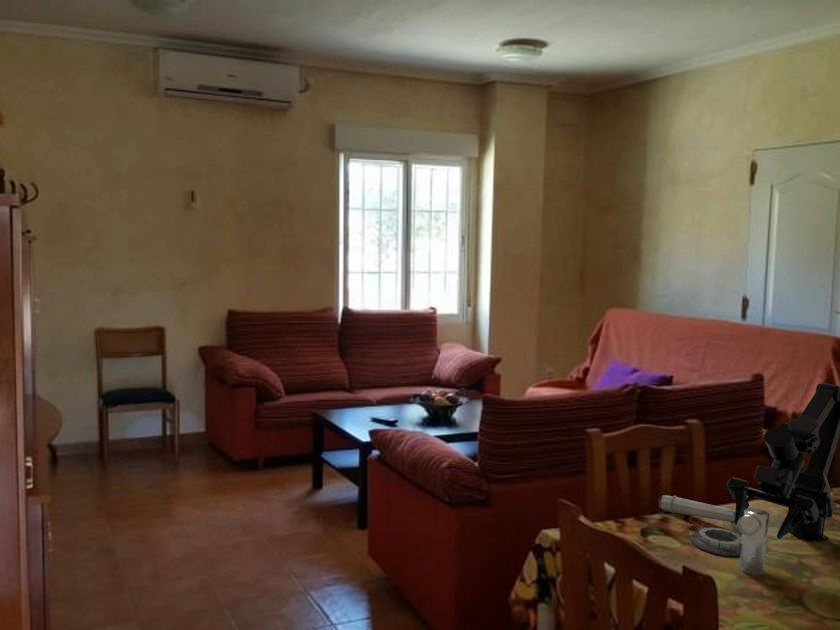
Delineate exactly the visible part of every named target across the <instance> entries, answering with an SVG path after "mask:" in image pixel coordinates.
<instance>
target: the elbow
mask: <svg viewBox="0 0 840 630" xmlns="http://www.w3.org/2000/svg"><path fill="white" fill-rule="evenodd" d="M769 522H770V513H769V512H768V511H766V510H763V509H760V508H754V507H751V508H750V507H748V508H747V509H745V510H744V516H743V517H741V518H739V520H738V522H737V526H738V529H739V531H740V532H741V533H742V540H741V550H740V556H739V562H738V563H739V564H738V570H739V571H740V572H743V573H745V574H747V575H750V576H752V575H753V576H762V575H764V574H765V572H764V571H765V564H766V554H767V541H768V533H769V524H770V523H769Z"/></svg>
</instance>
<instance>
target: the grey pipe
mask: <svg viewBox="0 0 840 630" xmlns="http://www.w3.org/2000/svg"><path fill="white" fill-rule="evenodd" d="M658 508H659V509H660V510H661V511H665V512H668V513H669V512H670V513H672V514H682V515H686V516H694V517H700V518H705V519H711V520H717V521H723V522H728V523H729V522H730V526H731V527H732V531H733V532H735V533H737V534H739V535H740V536H741V537H742V533H741V532H740V531H739V529H738V526H737V525H736V524H735V513H736V509H732V508H728V507H722V506H719V505H715V504H708V503H705V502H700V501H696V500H691V499H686V498H682V497H678V496H677V495H673V496H671V495H666V494H663V495H661V496H660V497H659V499H658Z"/></svg>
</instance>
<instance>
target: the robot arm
mask: <svg viewBox="0 0 840 630" xmlns="http://www.w3.org/2000/svg"><path fill="white" fill-rule="evenodd" d="M839 439H840V385H839V384H838V385H836V384H831V383H826V382H825V383H824V382H822V383H818V384H817V385H816V388H815V392H814V394H813V395H812V397H811V399H810V400H809V402H808V403H807V405H806V406H805V408H804V409H803V411H802V412H801V413H800V415H799V416H798V417H795V418H792V419H789V421H787V422H786V423H785V422H780V423H779V425H778V426H773V427H771V428H769V429H768V430H767V431H765V434H764V440H765V443H766V446H767V448H768V450H769V454H770V456H771V457H772V459H773V460H772V464H771V465H770V466H763V465H760V464H757V466H756V469H755V472H754V475H753V480H756V481H757V483H756V485H757V486H758V488H760V489H757V488H753V487H751V485H750V483H749V480H746V479H742V478H739V477H735V476H732V477H730V478H729V479H728V481H727V482H726V484H725V487H726V488H727V490H728V492H729V494H730V496H731V498H732V499H733V500H734V501H735V510H736V513H735V524H736V525H737V522H738V520H739V518H741V517H743V516H744V510H745V509H747V508H750V503H749V502H750V501H751V500H752V498H753V499H757V500H760V501H764V502H768V503H771V504H774V505H779V506H781V507H785V508H788V510H787V514H786V516H785V518H784V520H783V522H782V523H781V525H780V528H779V529H778V531H777V534H776V538H777V539H778V540H781V539H782V538H784V536H786V535H787V534H789V533H791V534H792V535H794V536H796V537H798V538H801V539H802V540H805V541H807V542H817V541H824V540H825V541H826V540H829V536H827V535H826V534H824V531H825V522H826V519H827V518H829V519H830V518H831V519H832V518H833V517H834V516H833V514H834V511H835V509H834V508H835V504H834V502H833V499H832V496H831V490H832V489H831V487H830V484H829V480H828V473H829V470H830V468H831V464H832V461H833V457H834V455H835V452H836V448H837V445H838V442H839ZM802 453H805V454H808V455H810V456H809V460H808V462H807V467H806V469H805V468H804V467H805V459H804V456H803V455H802ZM801 470H803V471H801Z"/></svg>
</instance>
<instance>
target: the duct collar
mask: <svg viewBox="0 0 840 630" xmlns="http://www.w3.org/2000/svg"><path fill="white" fill-rule="evenodd" d="M741 540H742V537H741V536H740V535H739V534H737V533H735V532H733V530H728V529H725V528H722V527H721V528H720V527H704V528H701V530H699V531H696V532H693V533H692V534H691V536H690V543H691V544H692V545H693V546H695V547H696V548H697V549H699V550H701V551H703V552H706V553H709V554H712V555H716V556H722V557H729V558H730V557H733V558H735V557H739V558H740V550H741Z"/></svg>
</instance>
